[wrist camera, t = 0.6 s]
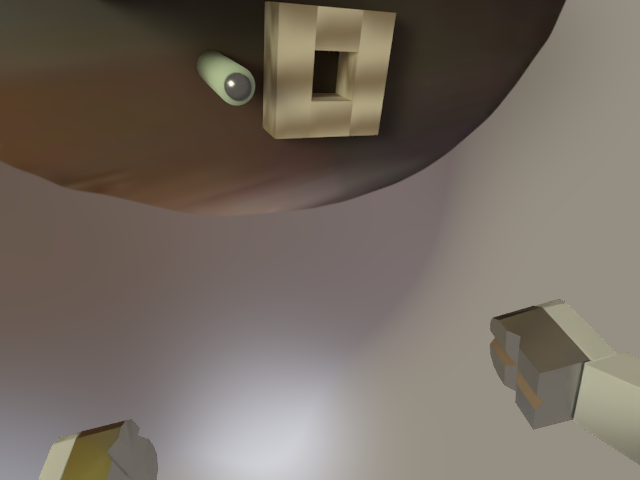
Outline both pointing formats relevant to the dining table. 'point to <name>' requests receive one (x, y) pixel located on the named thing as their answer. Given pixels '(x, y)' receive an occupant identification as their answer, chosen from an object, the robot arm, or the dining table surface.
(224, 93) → the bottle
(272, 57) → the block with square hole
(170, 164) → the dining table surface
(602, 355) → the robot arm
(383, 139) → the dining table surface
